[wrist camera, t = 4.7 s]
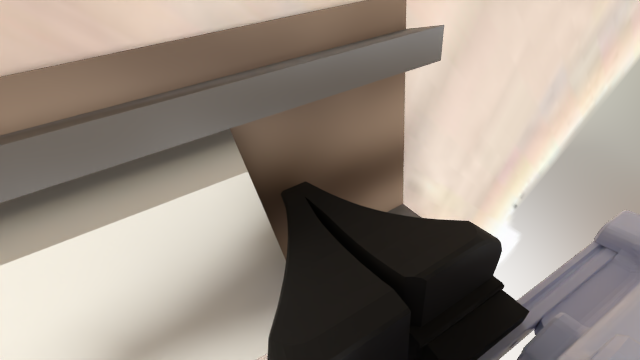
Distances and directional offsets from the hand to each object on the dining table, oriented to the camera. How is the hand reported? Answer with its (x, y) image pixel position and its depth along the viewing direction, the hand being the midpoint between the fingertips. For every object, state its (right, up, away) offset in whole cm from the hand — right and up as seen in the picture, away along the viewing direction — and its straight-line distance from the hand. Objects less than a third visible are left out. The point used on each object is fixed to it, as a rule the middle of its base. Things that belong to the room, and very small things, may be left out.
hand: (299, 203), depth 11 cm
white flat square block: (-5, -2, -1) cm, 6 cm away
